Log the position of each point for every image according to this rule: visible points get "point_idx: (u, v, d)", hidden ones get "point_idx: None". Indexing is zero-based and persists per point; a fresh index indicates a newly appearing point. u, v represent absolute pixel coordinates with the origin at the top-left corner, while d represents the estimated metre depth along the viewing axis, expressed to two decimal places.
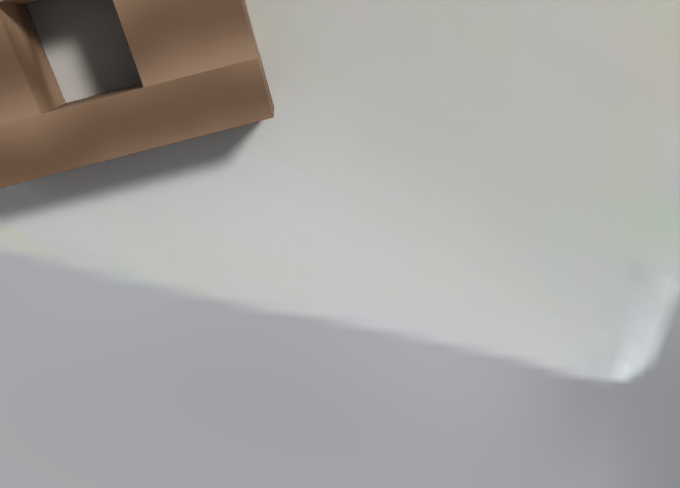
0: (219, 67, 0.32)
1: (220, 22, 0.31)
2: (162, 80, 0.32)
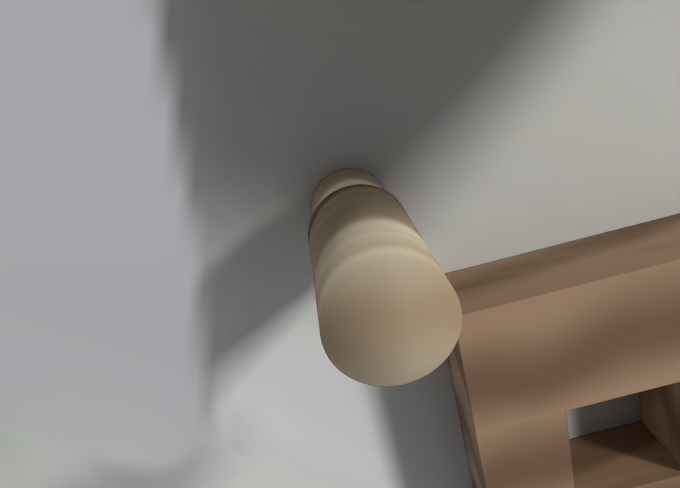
0: None
1: None
2: None
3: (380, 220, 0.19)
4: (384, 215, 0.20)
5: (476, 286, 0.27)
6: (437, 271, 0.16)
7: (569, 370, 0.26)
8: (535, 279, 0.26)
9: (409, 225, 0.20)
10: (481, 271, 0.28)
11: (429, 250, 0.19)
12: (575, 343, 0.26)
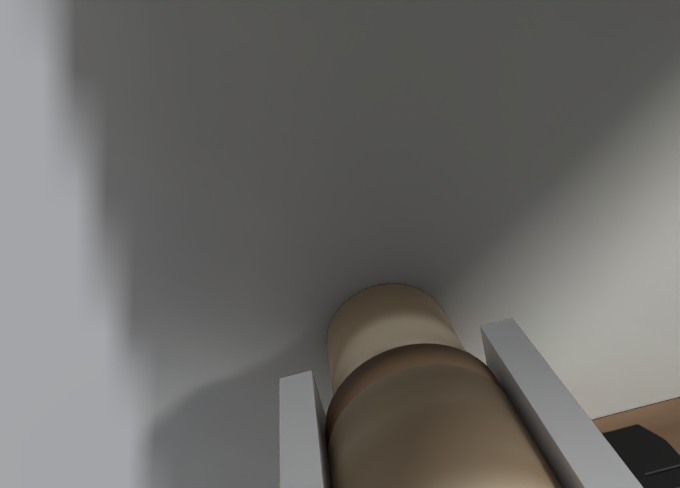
0: None
1: None
2: None
3: None
4: (498, 466, 0.09)
5: None
6: None
7: None
8: None
9: (548, 484, 0.09)
10: None
11: None
12: None
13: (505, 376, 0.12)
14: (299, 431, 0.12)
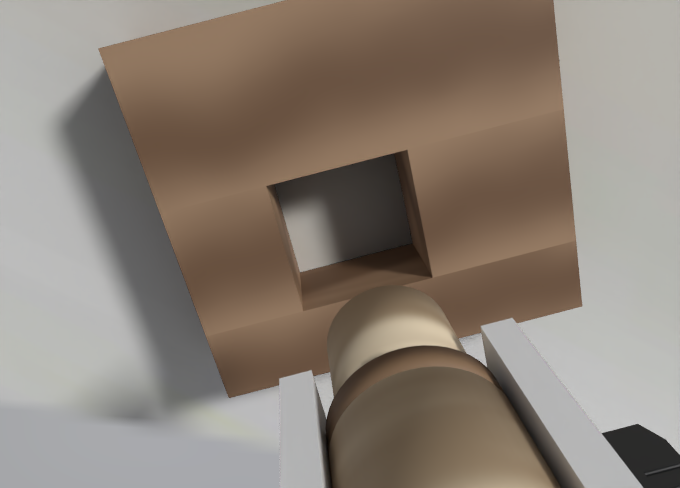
0: (528, 252, 0.25)
1: (539, 200, 0.24)
2: (457, 269, 0.25)
3: None
4: (499, 469, 0.09)
5: None
6: None
7: (260, 130, 0.22)
8: None
9: (549, 487, 0.09)
10: None
11: None
12: (260, 92, 0.22)
13: (505, 376, 0.12)
14: (299, 431, 0.12)
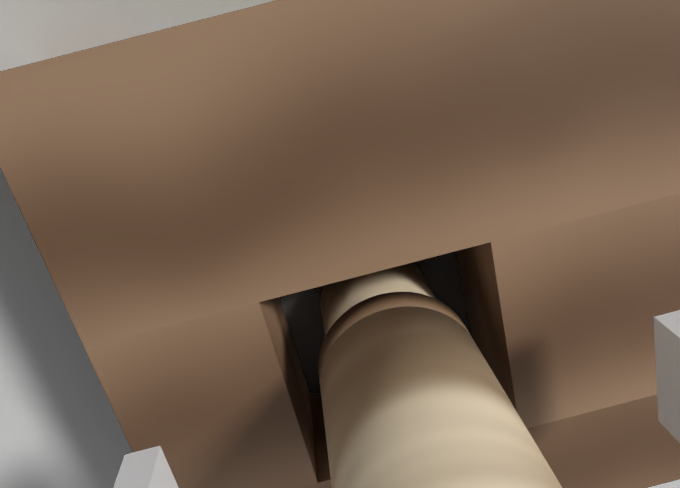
0: None
1: None
2: (557, 417, 0.16)
3: (448, 391, 0.11)
4: (453, 374, 0.11)
5: None
6: None
7: (248, 215, 0.13)
8: None
9: (494, 389, 0.12)
10: None
11: (539, 451, 0.10)
12: (248, 154, 0.13)
13: None
14: None
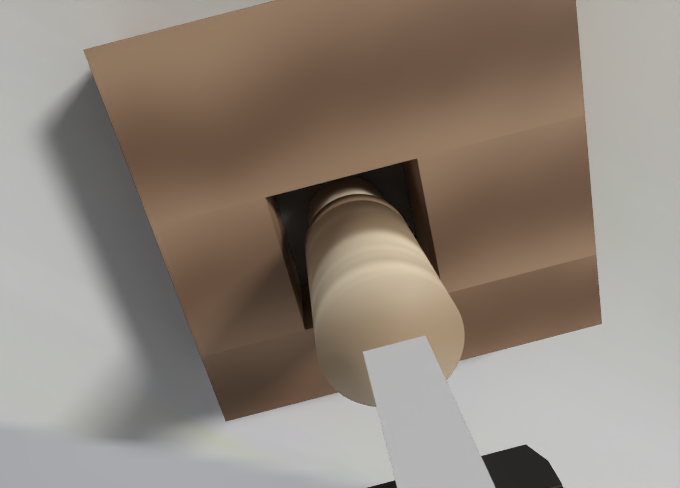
0: (545, 267, 0.24)
1: (557, 212, 0.23)
2: (469, 285, 0.24)
3: (378, 233, 0.18)
4: (384, 227, 0.19)
5: None
6: (439, 288, 0.16)
7: (258, 137, 0.21)
8: None
9: (409, 237, 0.19)
10: None
11: (430, 264, 0.18)
12: (258, 97, 0.20)
13: None
14: (395, 399, 0.12)
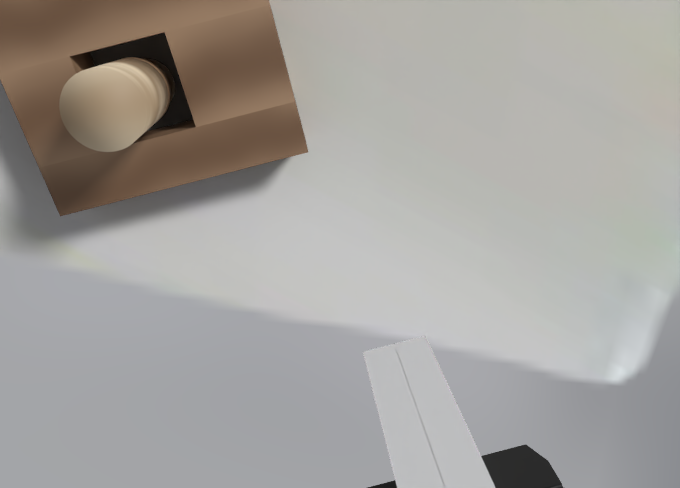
0: (262, 109, 0.36)
1: (263, 71, 0.36)
2: (212, 121, 0.36)
3: (116, 62, 0.31)
4: (124, 62, 0.32)
5: None
6: (125, 76, 0.29)
7: (61, 16, 0.34)
8: None
9: (140, 69, 0.32)
10: None
11: (143, 78, 0.31)
12: None
13: None
14: (395, 399, 0.12)
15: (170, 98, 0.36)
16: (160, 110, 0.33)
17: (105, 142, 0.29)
